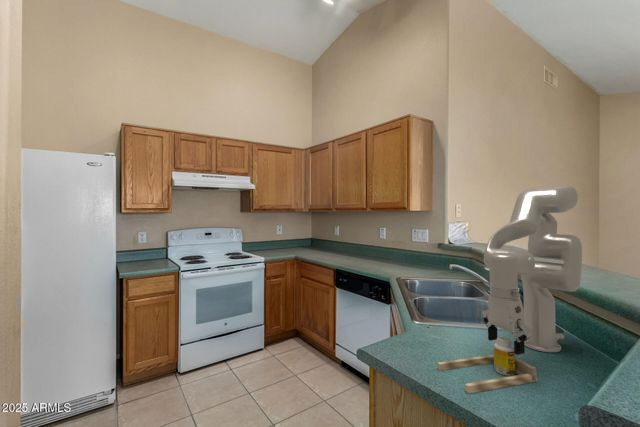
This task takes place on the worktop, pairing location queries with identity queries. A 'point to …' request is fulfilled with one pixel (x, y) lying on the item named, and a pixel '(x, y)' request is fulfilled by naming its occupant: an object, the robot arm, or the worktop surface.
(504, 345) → the supplement bottle
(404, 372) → the worktop surface
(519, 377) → the wooden frame
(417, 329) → the worktop surface
